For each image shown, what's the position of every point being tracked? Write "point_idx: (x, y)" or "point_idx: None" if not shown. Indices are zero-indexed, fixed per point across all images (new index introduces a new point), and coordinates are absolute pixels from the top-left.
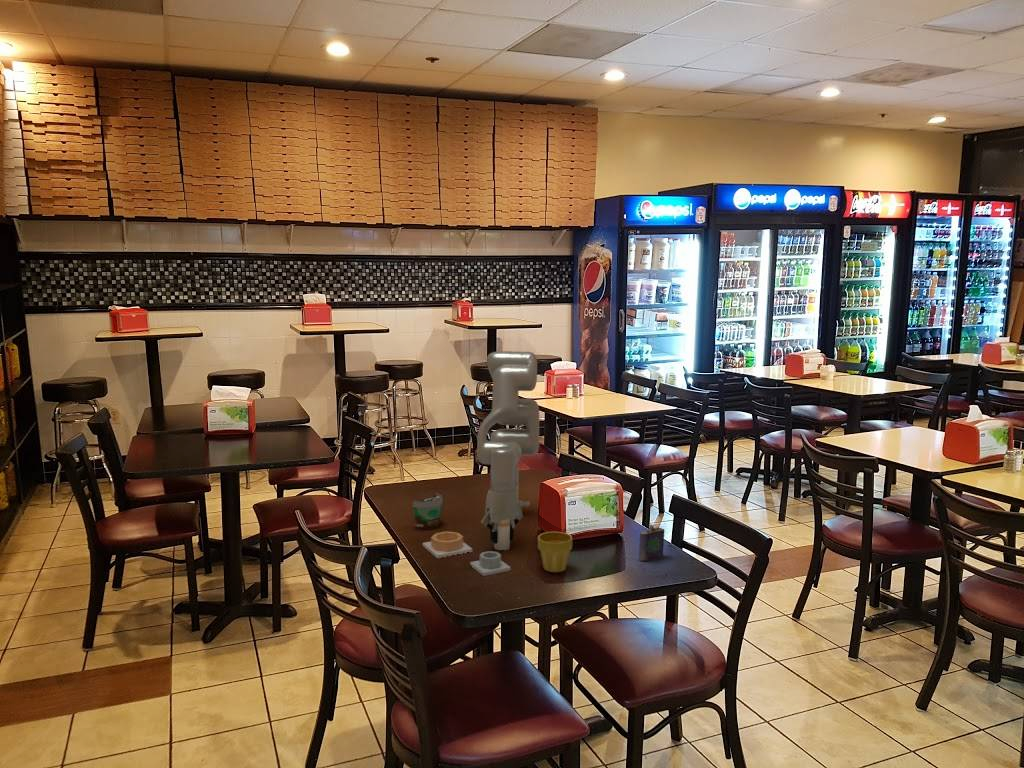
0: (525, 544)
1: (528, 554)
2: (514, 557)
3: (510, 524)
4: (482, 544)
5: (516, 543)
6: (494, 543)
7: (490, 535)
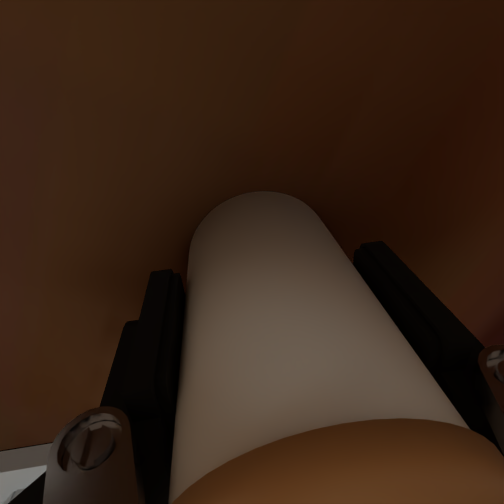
0: (471, 250)
1: None
2: None
3: (490, 441)
4: (90, 106)
5: (427, 206)
6: (186, 283)
7: (117, 361)
